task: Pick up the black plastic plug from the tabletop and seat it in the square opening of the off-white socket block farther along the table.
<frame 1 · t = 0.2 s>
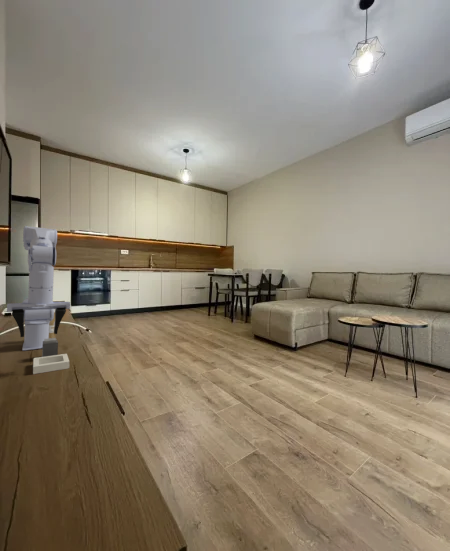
hand: (39, 334, 72), 10 cm above the tv stand, tool pointing down, fingers open, 7 cm apart
sprinkles bottle: (48, 340, 102), on the tv stand
socket block: (51, 366, 75), on the tv stand
black plug: (49, 357, 83), on the tv stand
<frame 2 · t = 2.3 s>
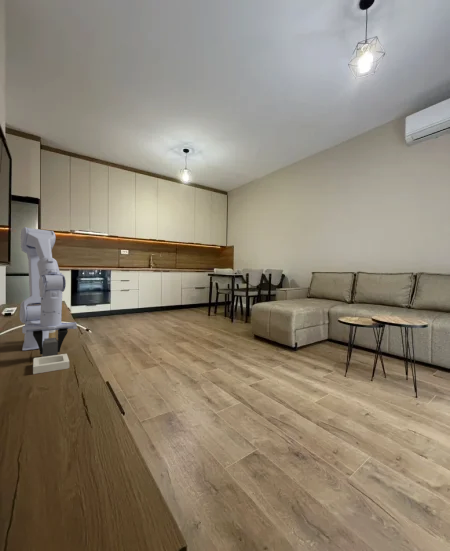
hand: (49, 352, 83), 2 cm above the tv stand, tool pointing down, fingers closed on black plug, 4 cm apart
black plug: (49, 357, 83), on the tv stand, touching gripper
everything else where it was.
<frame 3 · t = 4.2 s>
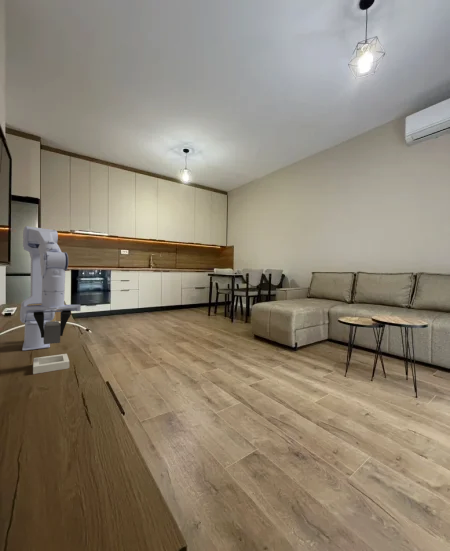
hand: (51, 336, 76), 9 cm above the tv stand, tool pointing down, fingers closed on black plug, 4 cm apart
black plug: (51, 341, 77), point 7 cm above the tv stand, touching gripper
everything else where it was.
when the fingers open (3 cm above the tv stand, at t = 6.2 s): black plug drops 1 cm, resting in socket block.
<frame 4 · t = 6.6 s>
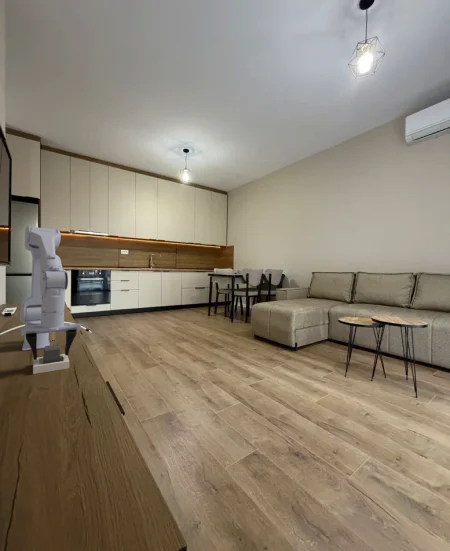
hand: (51, 356, 75), 3 cm above the tv stand, tool pointing down, fingers open, 7 cm apart
black plug: (51, 366, 75), resting in socket block
everything else where it was.
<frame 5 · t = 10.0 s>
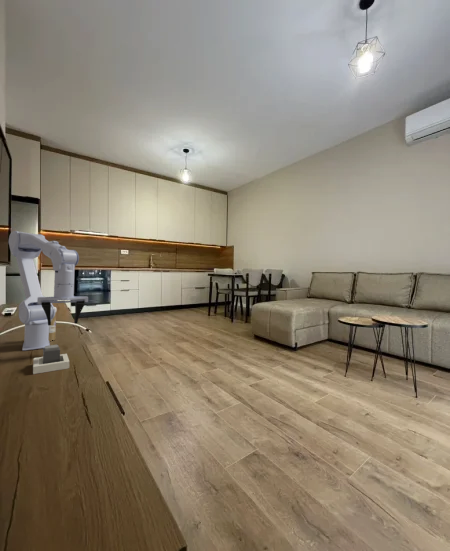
hand: (62, 323, 86), 10 cm above the tv stand, tool pointing down, fingers open, 7 cm apart
nothing on the tv stand moved.
at the end: black plug 0.1 cm off-centre on the socket block, point 0.0 cm above the socket block's base; black plug tilted 0°; the gripper is holding nothing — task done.
